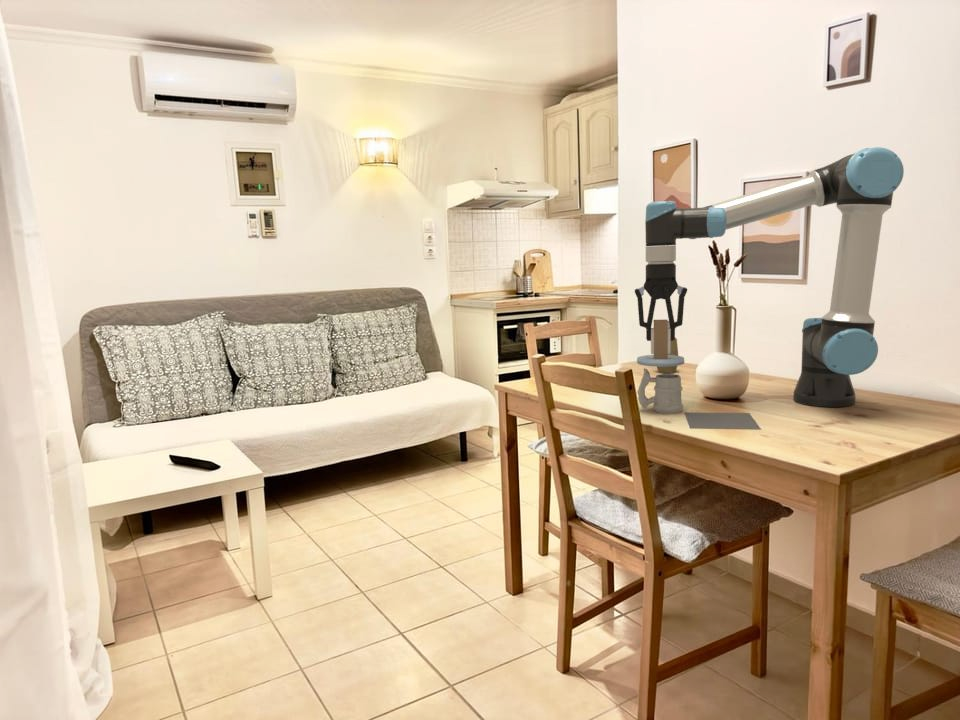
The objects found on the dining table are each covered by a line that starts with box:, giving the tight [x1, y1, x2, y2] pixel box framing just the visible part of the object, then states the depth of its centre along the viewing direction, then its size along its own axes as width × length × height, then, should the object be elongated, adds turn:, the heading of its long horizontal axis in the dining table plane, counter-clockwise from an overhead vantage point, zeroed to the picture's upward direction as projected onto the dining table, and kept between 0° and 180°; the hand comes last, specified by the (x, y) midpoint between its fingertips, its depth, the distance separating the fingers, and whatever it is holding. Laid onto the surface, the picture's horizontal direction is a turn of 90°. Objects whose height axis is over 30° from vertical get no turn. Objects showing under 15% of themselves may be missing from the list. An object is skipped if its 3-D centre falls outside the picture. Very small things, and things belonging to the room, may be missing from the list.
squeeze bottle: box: [656, 320, 679, 374], centre depth 235 cm, size 8×8×18 cm
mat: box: [684, 411, 762, 431], centre depth 167 cm, size 16×16×1 cm
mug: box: [637, 368, 684, 415], centre depth 179 cm, size 8×12×12 cm, turn 86°
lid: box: [636, 319, 685, 368], centre depth 177 cm, size 12×12×11 cm
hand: (660, 352), depth 177 cm, fingers closed on lid, 3 cm apart
